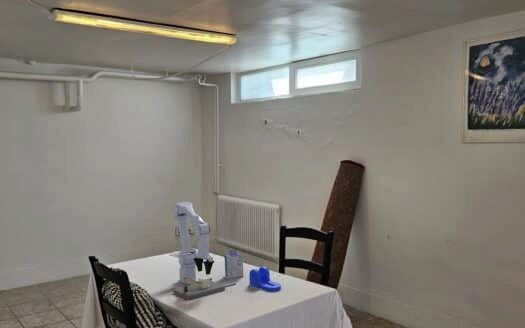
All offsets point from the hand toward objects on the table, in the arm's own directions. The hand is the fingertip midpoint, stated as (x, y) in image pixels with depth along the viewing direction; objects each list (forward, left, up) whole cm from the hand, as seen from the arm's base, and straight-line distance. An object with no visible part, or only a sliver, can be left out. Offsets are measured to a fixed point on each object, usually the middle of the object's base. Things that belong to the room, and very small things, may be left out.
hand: (204, 272), depth 245 cm
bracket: (+18, +27, -10) cm, 34 cm away
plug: (0, +1, -9) cm, 9 cm away
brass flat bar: (+6, -11, -7) cm, 14 cm away
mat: (-1, +13, -9) cm, 16 cm away
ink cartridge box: (-9, +26, -10) cm, 29 cm away
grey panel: (0, -3, -9) cm, 10 cm away
